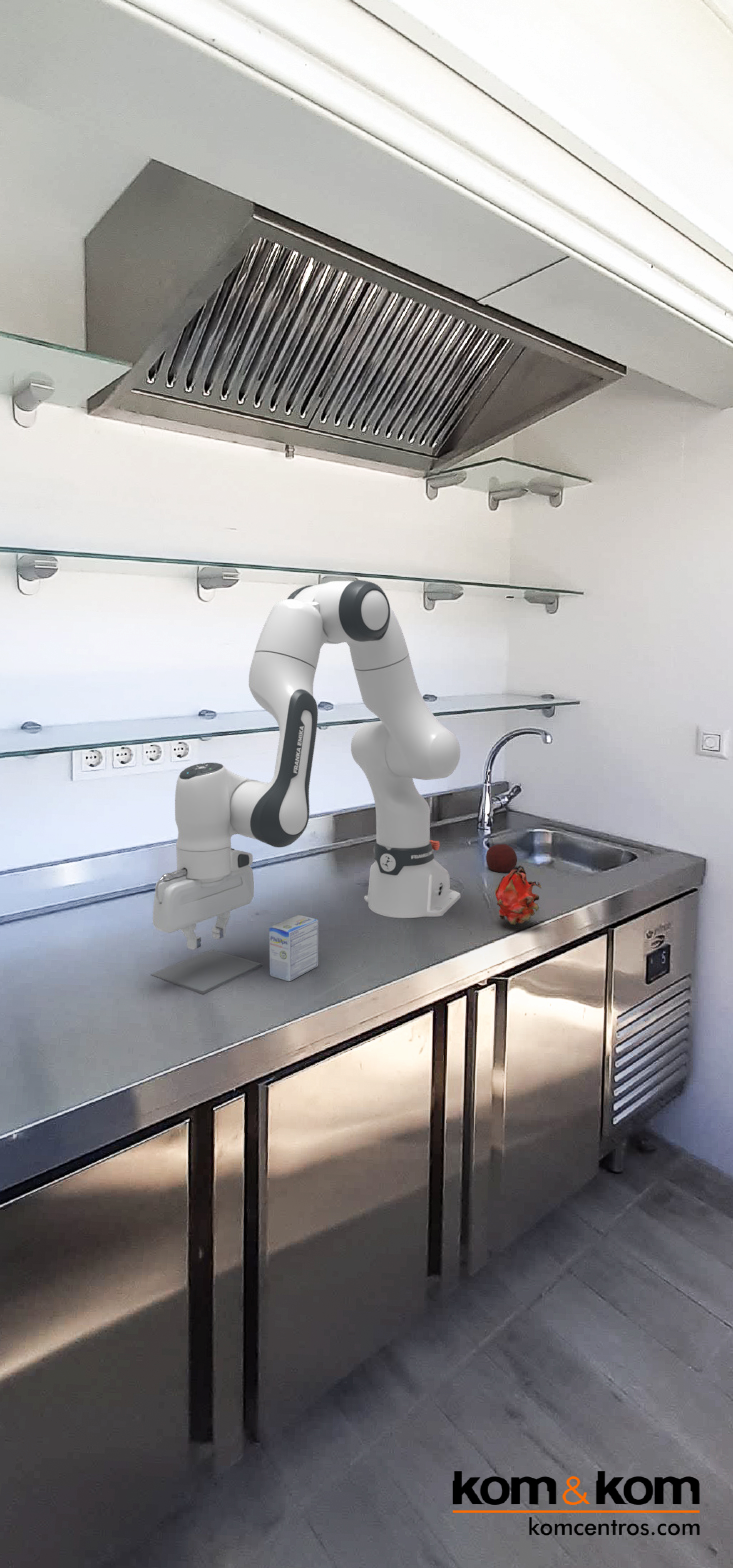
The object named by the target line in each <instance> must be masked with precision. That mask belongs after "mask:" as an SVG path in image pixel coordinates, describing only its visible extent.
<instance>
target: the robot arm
mask: <svg viewBox="0 0 733 1568" xmlns="http://www.w3.org/2000/svg"><path fill="white" fill-rule="evenodd" d="M400 625H401V624H400V623H399V621H398V617H397V616H396V614H395V611H394V610H393V609H392V608H391V605H390V603H389V599H388V597H387V595H386V593H385V591H384V590H383V589H382V588H381V586H379V585H378V584H376V583H374V582H371V581H367V580H361V579H358V580H334V581H333V580H331V581H328V582H323V583H319V584H315V585H312V584H309V585H305V586H302V587H299V588H297V589H295V590H294V591H292V593H290V595H289V596H288V597H287V599H282V600H280V601H278V602H277V603H276V604H274V606H273V607H272V608H271V611H269V614H268V616H267V618H266V621H265V623H264V625H263V627H262V630H261V632H260V633H259V634H260V635H259V637H258V641H257V643H256V647H255V649H254V653H253V658H252V660H251V664H250V668H249V674H248V687H249V691H250V693H251V695H252V697H253V698H254V699H255V701H256V702H257V704H258V705H259V706H260V707H261V708H263V709H264V711H266V712H268V713H269V714H270V715H271V716H273V718H274V719H275V721H276V723H277V726H278V729H279V739H278V745H277V746H278V747H277V753H276V760H275V766H274V772H273V777H272V779H271V781H270V782H264V781H259V780H257V779H256V780H255V779H250V778H248V777H245V776H241V775H239V774H237V773H234V772H232V771H230V770H229V769H227V768H226V767H225V766H224V765H223V764H222V763H218V762H203V763H198V764H194V765H190V766H188V767H186V768H184V769H183V770H182V771H181V772H180V773H179V775H178V777H177V780H176V785H175V795H174V796H175V797H174V816H175V817H174V819H175V820H174V821H175V825H176V827H177V831H178V832H177V833H178V835H177V839H176V870H174V871H172V872H167V873H164V874H163V875H161V878H159V880H158V881H157V882H156V884H155V888H154V892H155V893H154V899H153V909H152V924H153V927H154V928H155V929H156V930H157V931H160V932H163V933H168V934H172V933H175V932H178V931H180V930H181V932H182V933H183V935H184V937H185V938H186V947H187V948H188V949H189V950H192V951H193V950H196V949H199V948H201V947H202V943H201V942H202V937H201V936H197V935H196V933H195V930H196V929H197V924H199V923H201V922H204V921H207V920H209V919H212V918H215V917H217V919H216V921H215V926H214V927H211V936H212V939H214V940H221V939H223V938H225V937H226V928H227V925H228V923H229V921H230V918H231V911H233V910H237V909H239V908H242V907H244V906H246V905H250V904H251V903H252V900H253V898H254V896H255V895H254V894H255V881H254V879H255V878H254V871H253V869H252V867H251V865H252V864H253V861H254V859H253V854H252V853H250V852H248V851H243V850H238V849H235V848H232V842H231V840H232V839H231V838H232V837H233V836H234V835H240V836H243V837H246V838H250V839H253V840H257V841H260V843H261V842H262V843H264V844H266V845H268V846H271V847H273V848H285V847H288V846H290V845H292V844H293V843H295V842H296V841H297V840H298V839H299V838H300V837H301V836H302V834H303V833H304V832H305V831H306V828H307V827H308V824H309V820H310V782H311V775H312V767H313V759H314V752H315V745H316V737H317V731H318V721H319V720H318V719H319V718H318V716H319V715H318V713H319V710H318V703H317V701H316V698H314V681H315V674H316V672H317V667H318V663H319V658H320V653H321V649H322V647H323V645H324V644H330V645H333V644H334V645H336V644H337V645H338V644H341V643H346V644H347V645H348V647H349V652H350V658H351V663H352V666H353V670H354V673H355V678H356V681H357V684H358V689H359V691H360V696H361V699H362V702H363V704H364V706H365V707H366V708H367V709H368V710H369V711H370V712H371V713H373V715H375V716H376V717H378V719H379V721H372V722H368V723H367V722H366V723H364V724H361V725H360V726H358V728H357V729H356V730H355V732H354V733H353V736H352V738H351V742H350V752H351V755H352V758H353V760H354V762H355V763H356V764H357V766H359V768H360V769H361V770H362V772H363V773H364V775H365V777H366V779H367V781H368V785H369V787H370V789H371V792H372V796H373V800H374V806H375V828H376V830H375V831H376V832H375V833H376V837H375V838H376V839H375V840H376V841H375V842H374V843H373V845H374V846H373V859H374V860H375V861H374V863H372V864H371V866H370V870H369V879H368V892H367V895H364V897H363V899H364V900H365V902H367V903H368V904H367V905H368V908H369V910H371V911H372V912H373V913H375V914H377V915H381V916H384V917H388V918H395V919H396V918H398V919H413V918H422V917H423V918H424V917H426V918H427V917H430V918H432V917H434V918H435V917H442V916H444V914H445V913H447V912H448V911H449V910H450V909H451V908H452V907H453V906H454V905H455V903H457V901H458V900H459V899H461V893H460V892H459V891H456V890H454V889H450V887H451V886H450V885H451V884H450V883H451V882H450V879H451V878H450V873H449V871H448V870H447V869H445V868H444V866H442V865H441V864H440V863H439V862H438V861H437V860H436V859H435V854H434V851H439V849H440V846H441V845H440V841H439V840H432V839H431V838H430V835H431V833H430V830H431V829H430V828H431V825H430V824H431V808H430V806H429V803H428V801H427V800H426V799H425V797H423V796H422V795H421V794H420V792H419V791H418V788H417V787H416V785H415V782H414V779H415V780H416V779H417V780H423V781H429V780H438V779H439V780H440V779H445V778H448V777H449V776H451V775H452V774H453V773H454V772H455V770H456V769H457V767H458V766H459V762H460V758H461V746H460V743H459V740H458V737H456V735H455V734H454V733H453V732H452V731H450V730H449V729H448V728H447V727H446V726H444V725H443V724H442V723H441V722H440V721H439V720H438V719H437V718H436V717H435V715H434V714H433V712H432V711H431V710H430V708H429V706H428V704H427V703H426V701H425V699H424V697H423V696H422V694H421V692H420V689H419V687H418V683H417V680H416V677H415V674H414V673H415V672H414V669H413V665H412V662H411V657H410V653H409V649H408V646H407V641H406V638H405V636H404V633H403V630H402V628H401V626H400Z"/></svg>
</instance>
